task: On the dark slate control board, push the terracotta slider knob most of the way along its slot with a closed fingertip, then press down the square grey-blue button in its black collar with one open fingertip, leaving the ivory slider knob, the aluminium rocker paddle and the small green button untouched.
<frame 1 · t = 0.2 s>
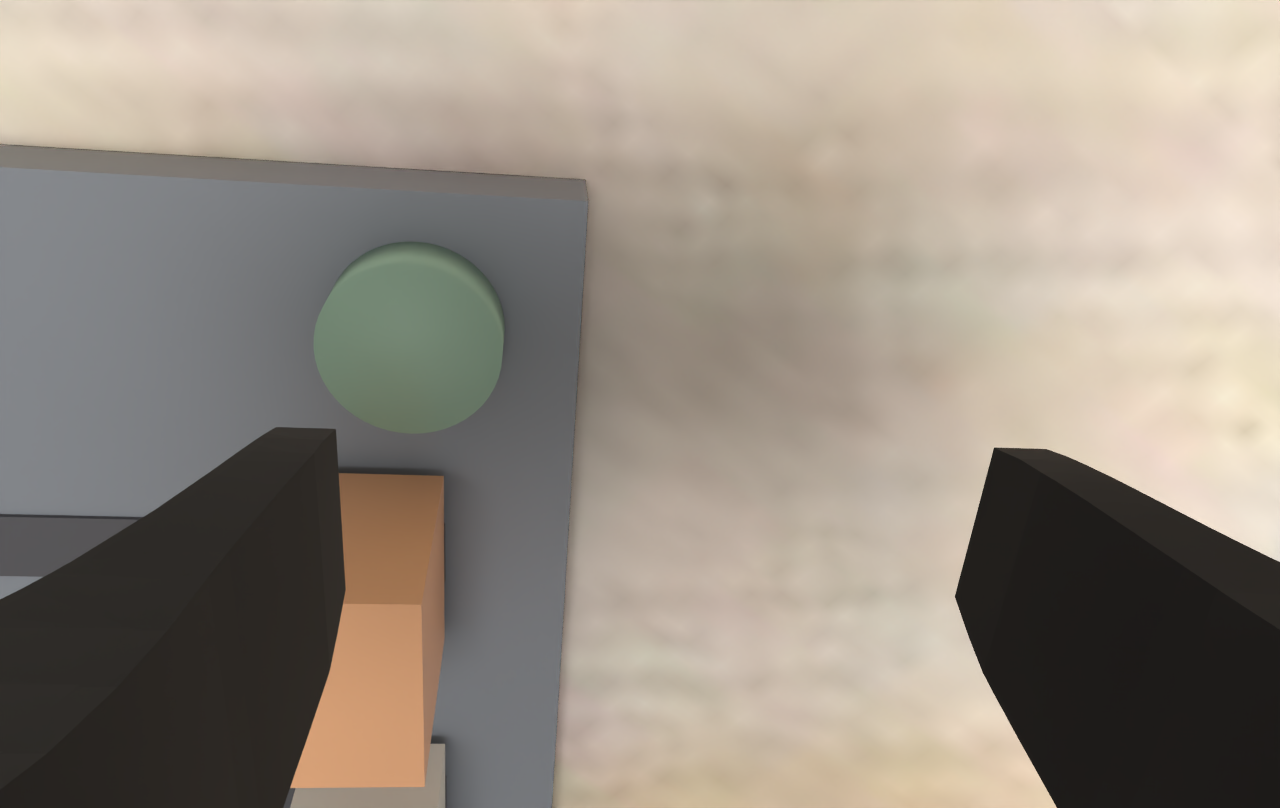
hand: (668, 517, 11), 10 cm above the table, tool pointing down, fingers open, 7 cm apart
control board: (101, 562, 22), on the table
terracotta slider: (351, 623, 19), point 4 cm above the table, slide at 0.0 cm
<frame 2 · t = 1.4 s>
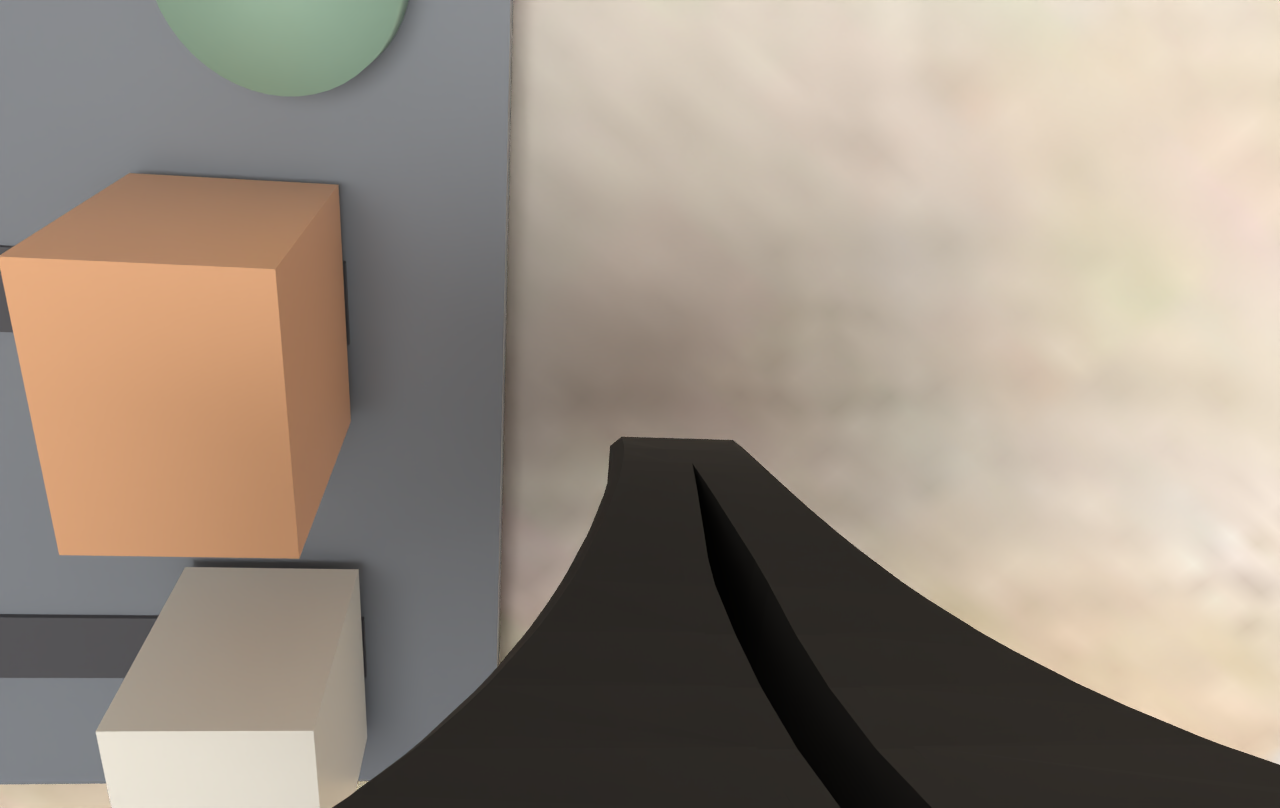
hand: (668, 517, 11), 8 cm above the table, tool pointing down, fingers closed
ivory slider: (253, 734, 17), point 4 cm above the table, slide at 0.0 cm
terracotta slider: (209, 355, 14), point 4 cm above the table, slide at 0.0 cm
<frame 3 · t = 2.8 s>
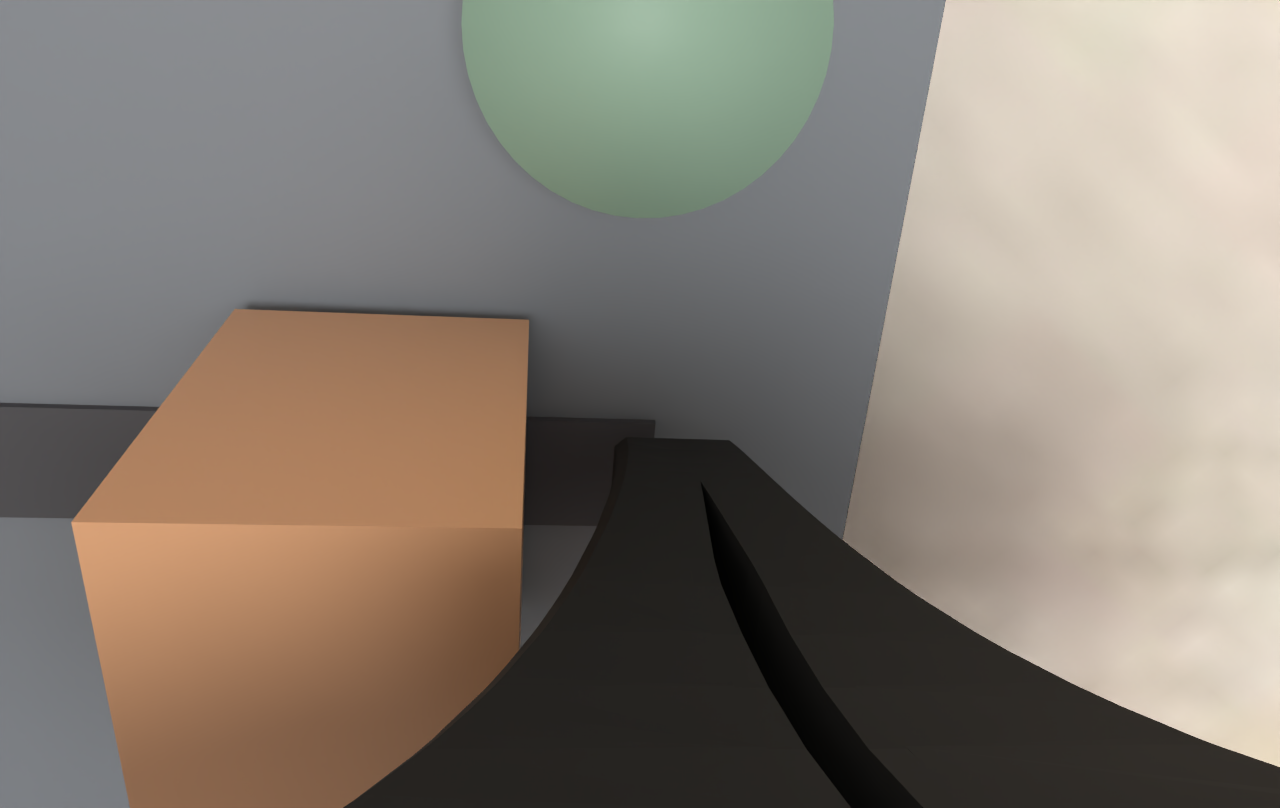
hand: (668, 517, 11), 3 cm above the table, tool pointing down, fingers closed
control board: (59, 502, 13), on the table
terracotta slider: (362, 587, 10), point 4 cm above the table, slide at 1.5 cm, touching gripper
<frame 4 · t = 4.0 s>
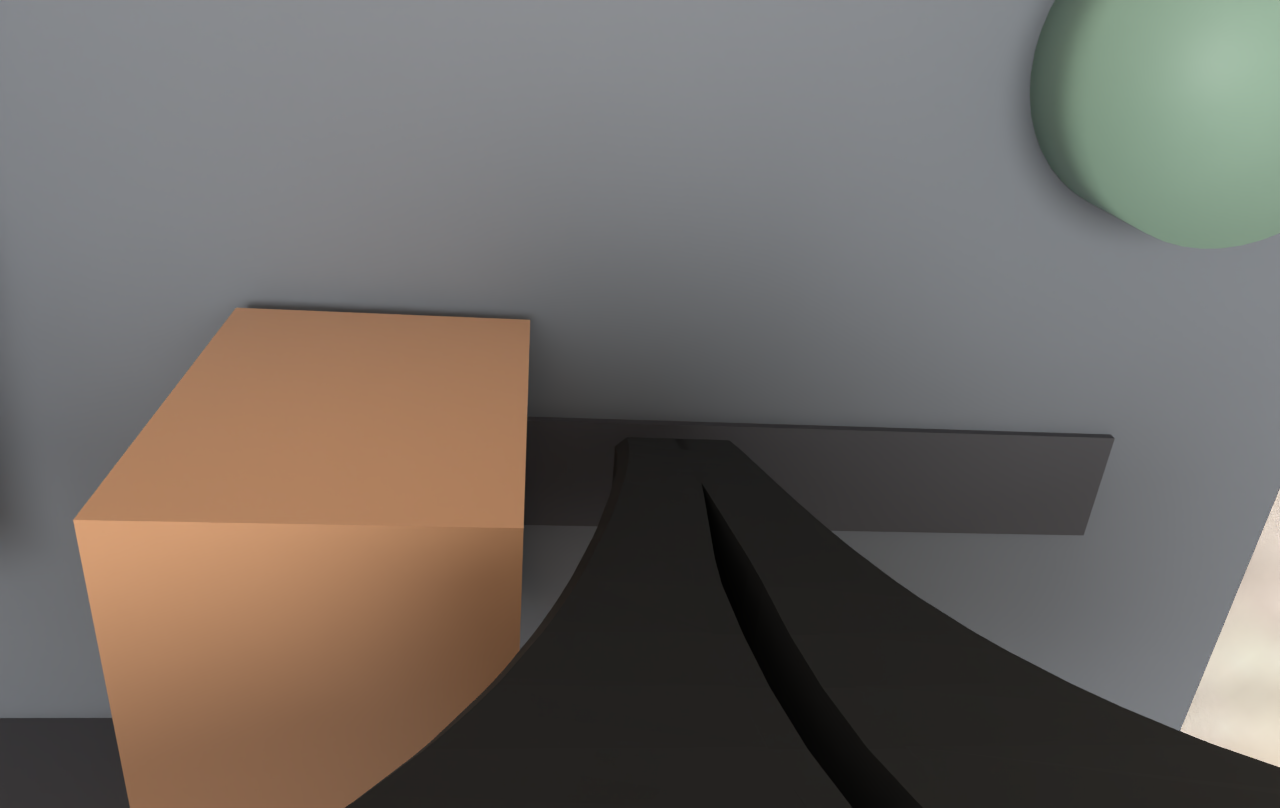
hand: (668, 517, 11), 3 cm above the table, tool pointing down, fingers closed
control board: (492, 509, 14), on the table
terracotta slider: (362, 586, 10), point 4 cm above the table, slide at 7.1 cm, touching gripper
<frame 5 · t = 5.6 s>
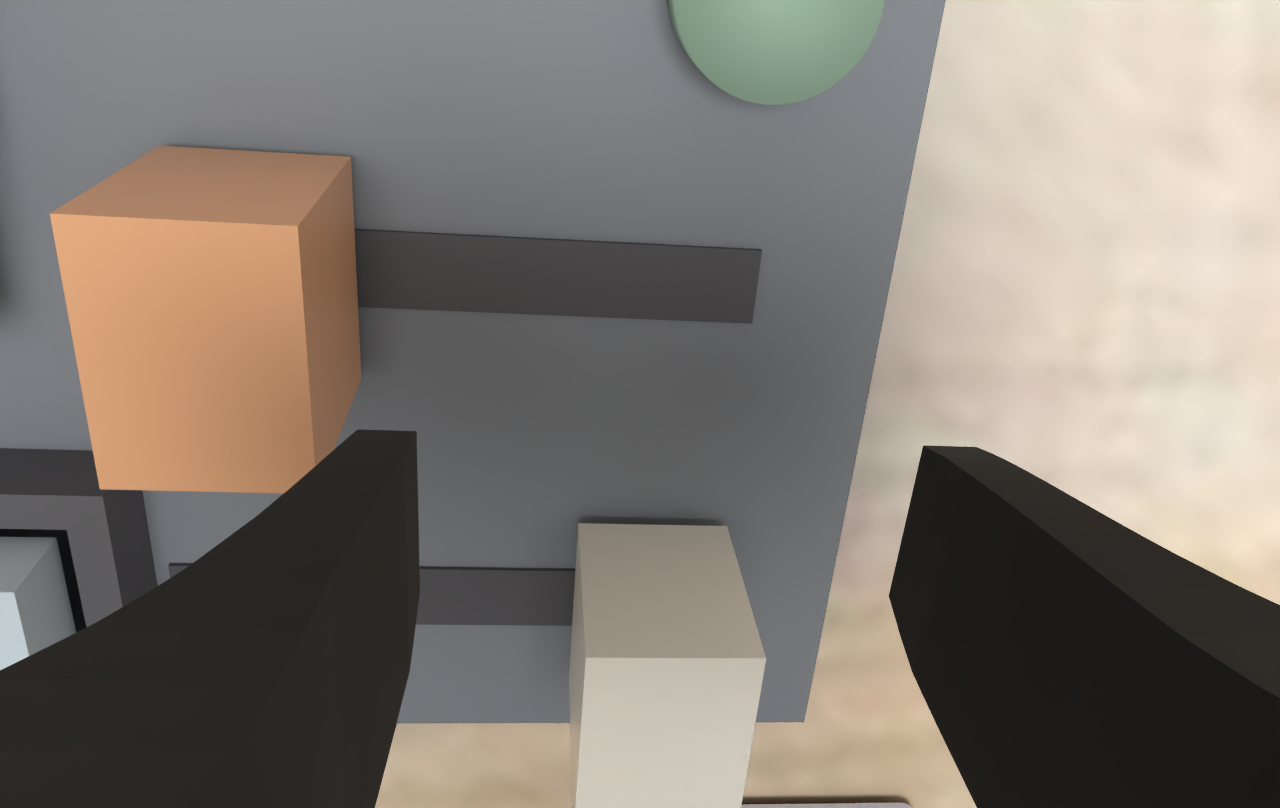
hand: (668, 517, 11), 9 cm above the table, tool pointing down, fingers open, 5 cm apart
ivory slider: (654, 670, 19), point 4 cm above the table, slide at 0.0 cm
control board: (352, 315, 20), on the table
terracotta slider: (234, 311, 15), point 4 cm above the table, slide at 7.1 cm
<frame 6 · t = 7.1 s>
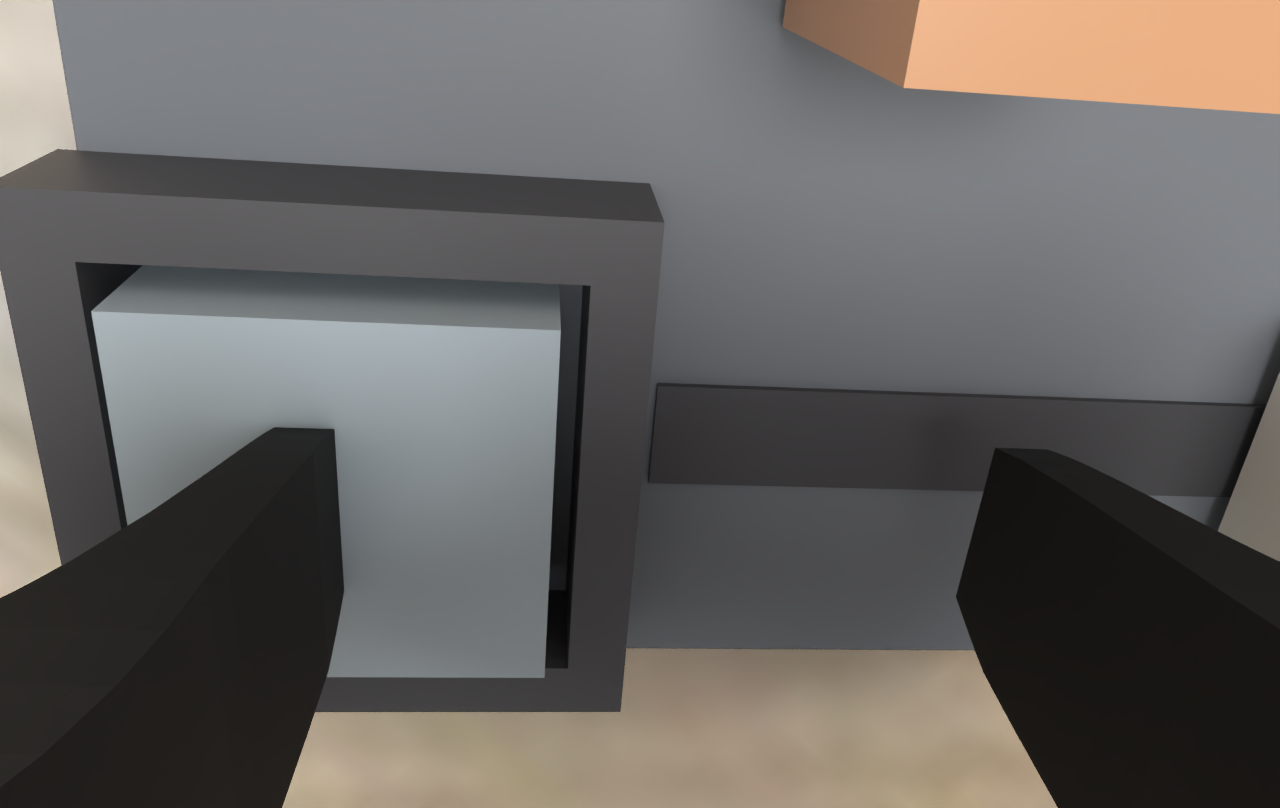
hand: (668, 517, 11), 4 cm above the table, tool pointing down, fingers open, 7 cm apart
grey button: (356, 477, 11), point 3 cm above the table, slide at 0.9 cm, touching gripper
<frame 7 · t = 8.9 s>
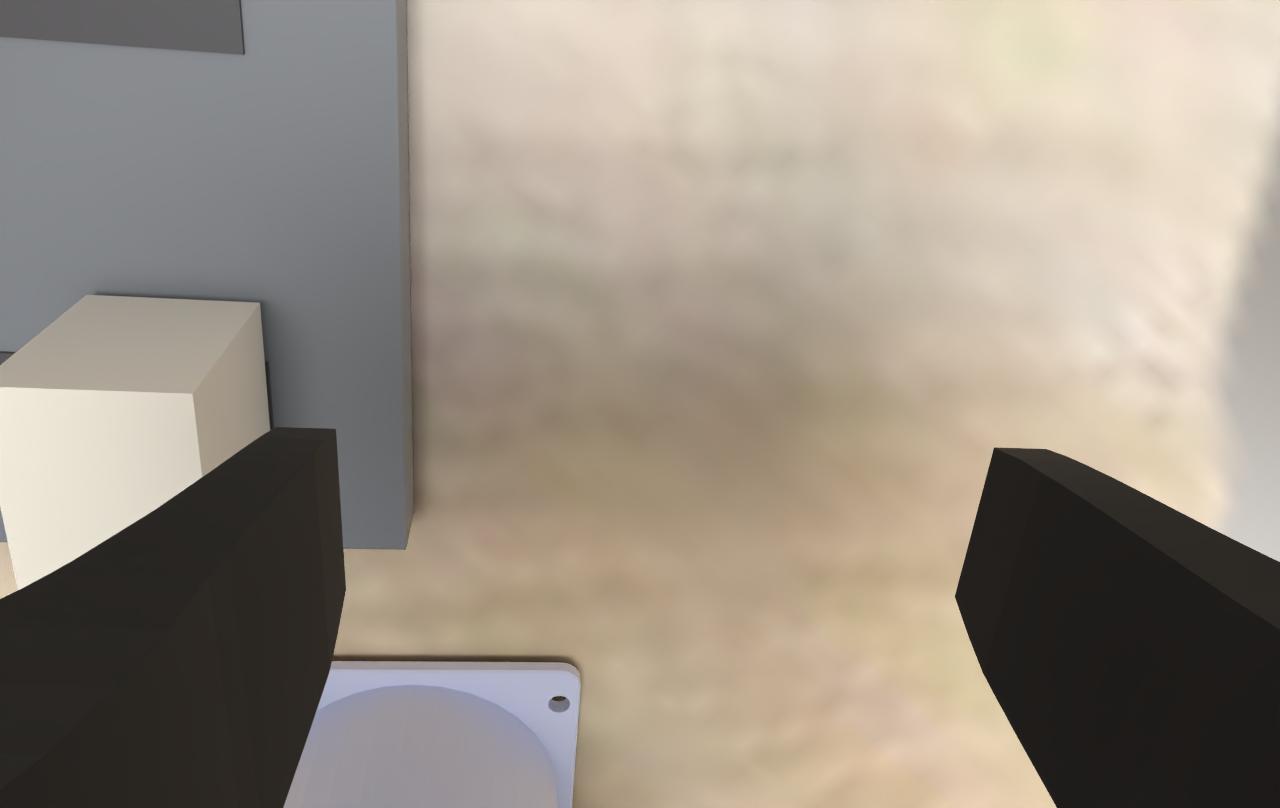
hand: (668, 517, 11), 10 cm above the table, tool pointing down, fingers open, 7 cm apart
ivory slider: (149, 447, 17), point 4 cm above the table, slide at 0.0 cm
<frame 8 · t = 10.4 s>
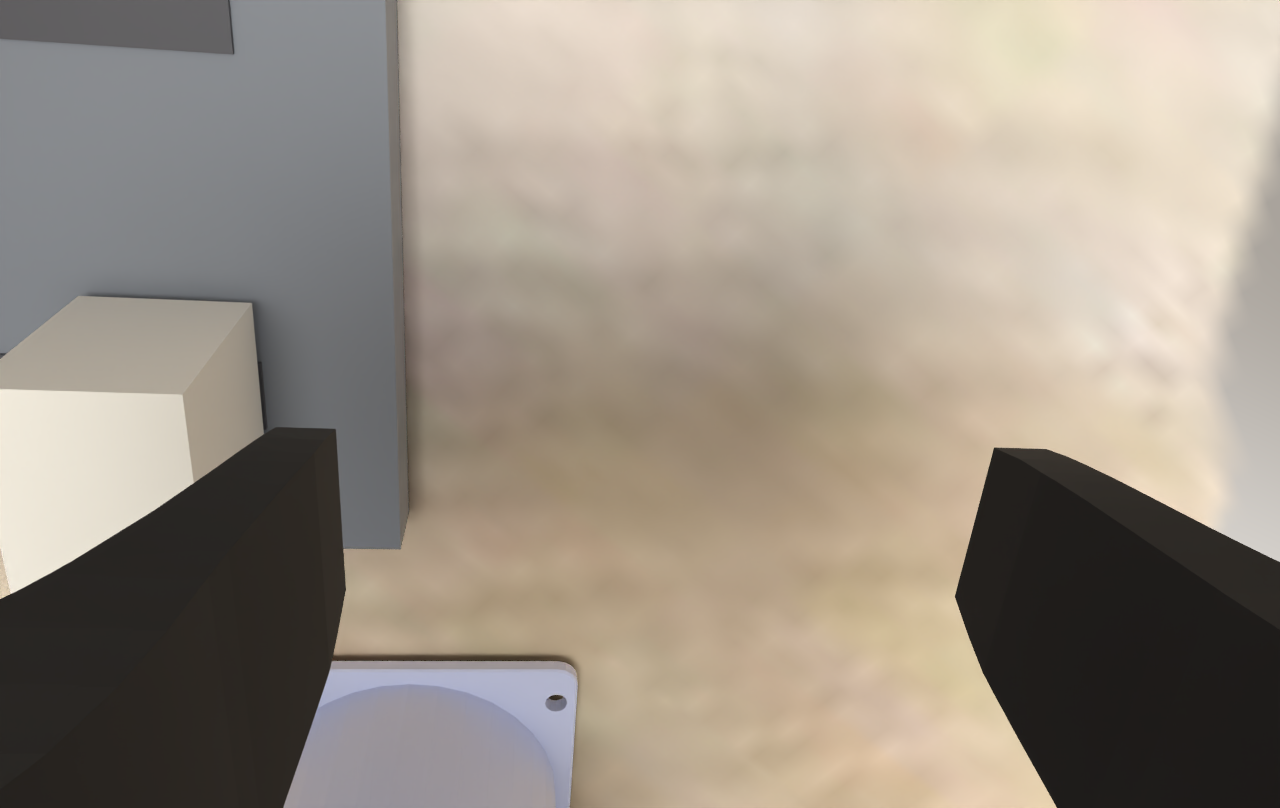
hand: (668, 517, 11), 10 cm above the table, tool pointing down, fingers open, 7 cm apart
ivory slider: (141, 448, 17), point 4 cm above the table, slide at 0.0 cm
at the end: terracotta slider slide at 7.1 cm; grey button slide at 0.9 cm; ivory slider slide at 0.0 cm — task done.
